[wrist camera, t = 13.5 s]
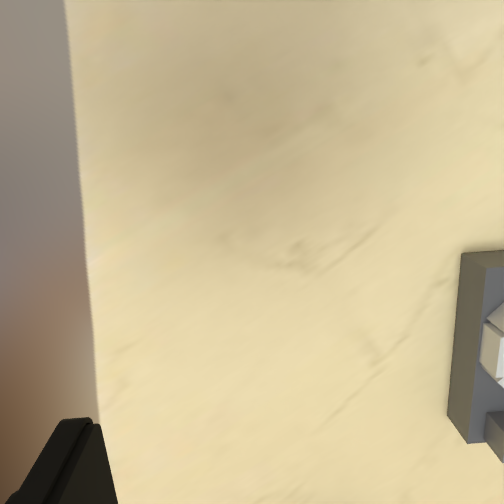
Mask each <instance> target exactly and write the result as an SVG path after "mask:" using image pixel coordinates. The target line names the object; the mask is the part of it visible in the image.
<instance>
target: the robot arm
mask: <svg viewBox="0 0 504 504" xmlns="http://www.w3.org/2000/svg"><path fill="white" fill-rule="evenodd" d="M5 504H118V501H117V497H116V492H115V488H114V483H113V479H112V474H111V470H110V465H109V461H108V456H107V452H106V447H105V443H104V438H103V434H102V429H101V426H100V425H99V424H93V422H92V419H90V418H89V417H86V418H72V419H63V420H61V421H60V422H59V424H58V425H57V426H56V428H55V430H54V432H53V433H52V435H51V437H50V438H49V440H48V442H47V443H46V445H45V447H44V448H43V450H42V452H41V453H40V455H39V457H38V459H37V460H36V462H35V464H34V465H33V467H32V469H31V470H30V472H29V474H28V475H27V477H26V479H25V481H24V482H23V484H22V485H21V487H20V489H19V490H18V491H16V492H15V493H13V494H12V495H11V496H10V497H9V499H8V500H7V501H6V503H5Z"/></svg>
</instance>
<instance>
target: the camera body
mask: <svg viewBox="0 0 504 504" xmlns="http://www.w3.org/2000/svg"><path fill="white" fill-rule="evenodd" d="M447 416H448V417H449V419H450V420H451V422H452V423H453V424H454V426H455V427H456V429H457V430H458V431H459V433H460V434H461V436H462V437H463V438H464V440H465V441H466V443H467V444H471V443H484V442H487V444H488V445H489V446H490V448H491V449H492V450H493V452H494V453H495V454H496V455H497V457H498V458H499V459H500V461H501V462H502V463H504V250H499V251H487V252H474V253H462V255H461V266H460V277H459V289H458V300H457V311H456V322H455V334H454V345H453V356H452V367H451V379H450V390H449V401H448V412H447Z"/></svg>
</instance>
